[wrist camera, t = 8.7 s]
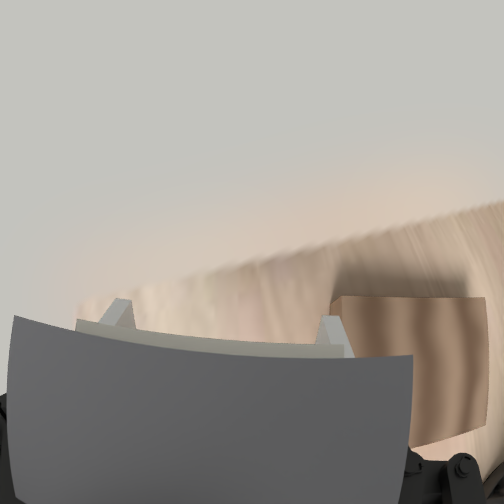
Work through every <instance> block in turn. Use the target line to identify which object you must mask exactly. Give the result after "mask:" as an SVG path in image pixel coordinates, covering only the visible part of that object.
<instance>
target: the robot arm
mask: <svg viewBox="0 0 504 504" xmlns="http://www.w3.org/2000/svg"><path fill="white" fill-rule="evenodd" d="M98 323H102V324H107V325H113V326H119V327H125V328H131V329H136V325H135V320H134V314H133V308H132V301H131V300H125V299H118V298H116V299H115V300H114V302H113V303H112V304H111V306H110V307H109V308H108V310H107V311H106V312H105V314H104V315H103V317H102V318H101V319H100V321H99V322H98ZM315 344H345V345H344V358H355V356H354V354H353V351H352V348H351V345H350V343H349V340H348V338H347V335H346V332H345V330H344V327H343V325H342V322H341V319H340V317H339V316H327V315H322V317H321V322H320V326H319V330H318V334H317V338H316V343H315ZM0 504H26V503H24V502H23V501H21V500H20V499H18V498H16V496H15V491H14V485H13V480H12V473H11V466H10V458H9V448H8V434H7V393H5V394H3V395H1V396H0ZM398 504H504V462H503V463H502V464H501V465H500V466H499V467H498V468H497V469H496V470H495V471H494V472H493V473H492V474H491V475H490V476H489V478H488V479H487V480H486V481H485V483H484V484H482V479H481V475H480V471H479V467H478V464H477V462H476V460H475V459H474V458H473V457H472V456H471V455H469V454H467V453H458V454H456V455H454V456H453V457H452V458H451V459H450V460H449V461H429V460H424V459H423V458H422V457H421V456H420V455H419V454H417V453H416V452H413V451H411V449H410V447H409V445H408V450H407V458H406V464H405V471H404V476H403V482H402V487H401V492H400V497H399V501H398Z"/></svg>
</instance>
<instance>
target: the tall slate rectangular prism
mask: <svg viewBox="0 0 504 504" xmlns="http://www.w3.org/2000/svg"><path fill="white" fill-rule="evenodd" d="M344 345H345V344H288V343H265V342H248V341H234V340H222V339H211V338H201V337H191V336H182V335H174V334H166V333H158V332H151V331H144V330H138V329H131V328H125V327H119V326H113V325H107V324H102V323H96V322H91V321H86V320H81V319H77V322H76V328H75V331H72V330H68V329H64V328H59V327H55V326H51V325H48V324H44V323H40V322H36V321H33V320H29V319H26V318H22V317H19V316H15V315H14V321H13V327H12V334H11V343H10V350H9V361H8V375H7V434H8V448H9V458H10V466H11V473H12V480H13V485H14V491H15V496H16V498H18V499H20V500H21V501H23V502H24V503H26V504H398V501H399V497H400V492H401V487H402V482H403V476H404V471H405V464H406V458H407V450H408V442H409V434H410V423H411V411H412V394H413V355H401V356H386V357H365V358H344Z"/></svg>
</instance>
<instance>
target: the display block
mask: <svg viewBox="0 0 504 504" xmlns="http://www.w3.org/2000/svg"><path fill="white" fill-rule="evenodd" d="M330 316H339V317H340V319H341V322H342V325H343V327H344V330H345V332H346V335H347V338H348V340H349V343H350V345H351V348H352V351H353V354H354V356H355V358H365V357H386V356H401V355H413V394H412V411H411V423H410V434H409V442H408V445H409V447H410V449H411V448H415V447H419V446H423V445H427V444H430V443H434V442H437V441H441V440H444V439H448V438H451V437H454V436H457V435H460V434H463V433H466V432H469V431H471V430H474V429H477V428H479V427H482V426H485V425H486V416H487V405H488V389H489V341H488V324H487V312H486V303H485V297H481V298H415V297H370V296H341V297H339V298H338V299H337V300H335V301H334V302H333V303H331V304H330Z"/></svg>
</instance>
